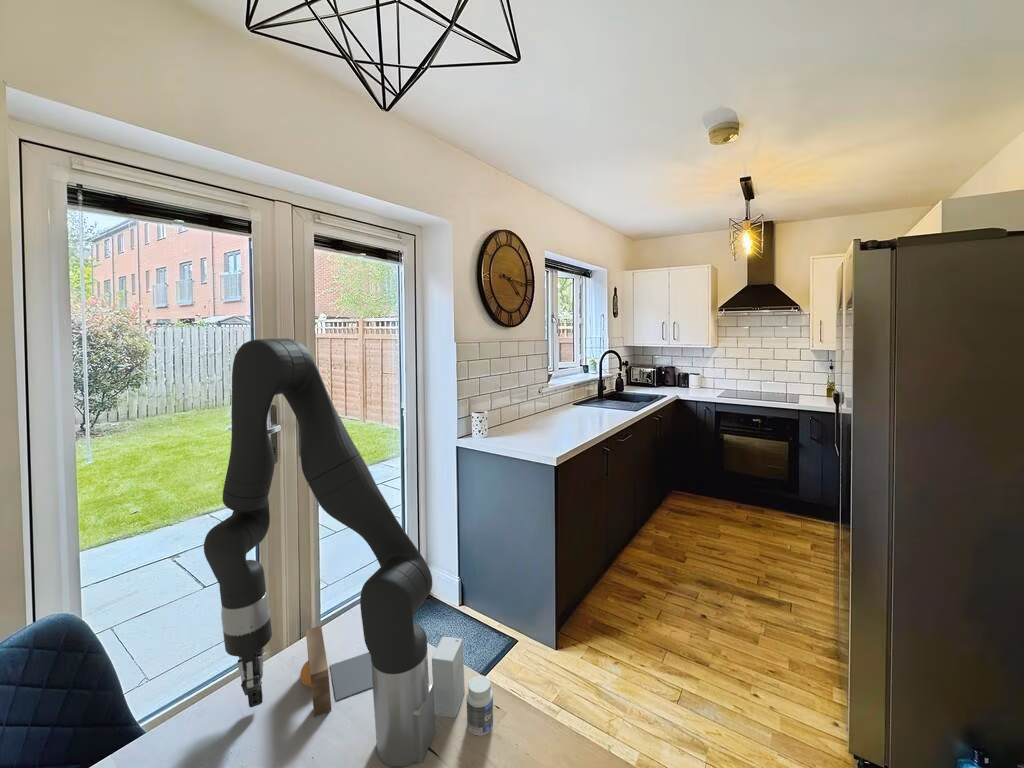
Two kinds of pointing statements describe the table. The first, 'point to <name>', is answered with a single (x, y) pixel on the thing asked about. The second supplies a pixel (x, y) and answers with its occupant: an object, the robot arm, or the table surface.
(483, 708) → the pill bottle
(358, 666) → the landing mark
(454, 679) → the skincare box
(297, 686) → the table surface
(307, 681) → the ball
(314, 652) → the bridge
